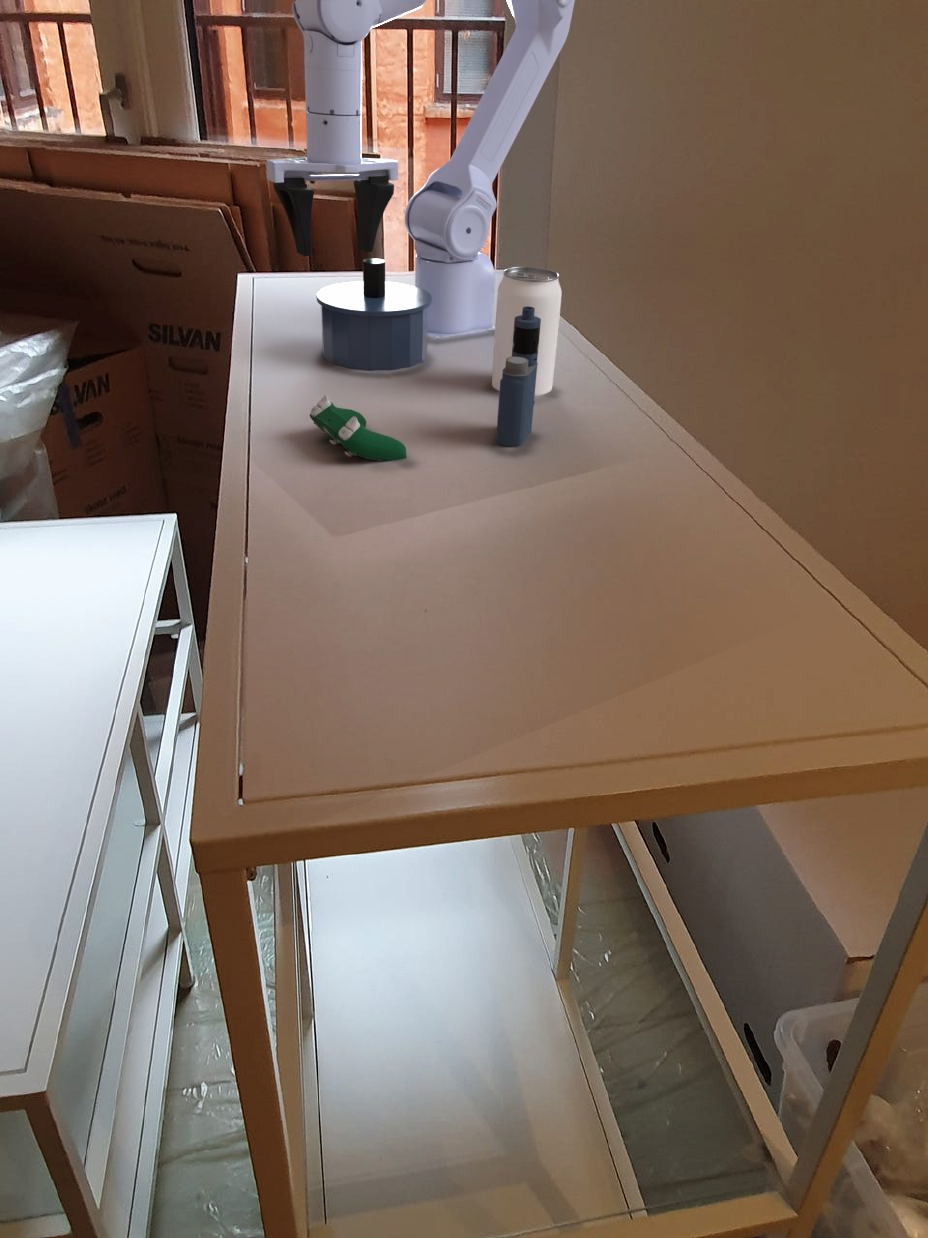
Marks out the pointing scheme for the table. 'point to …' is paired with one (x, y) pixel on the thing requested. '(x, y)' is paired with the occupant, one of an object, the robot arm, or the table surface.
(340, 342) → the tin
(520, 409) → the vaping device
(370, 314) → the lid
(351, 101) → the robot arm
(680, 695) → the table surface
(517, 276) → the can
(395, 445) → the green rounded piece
